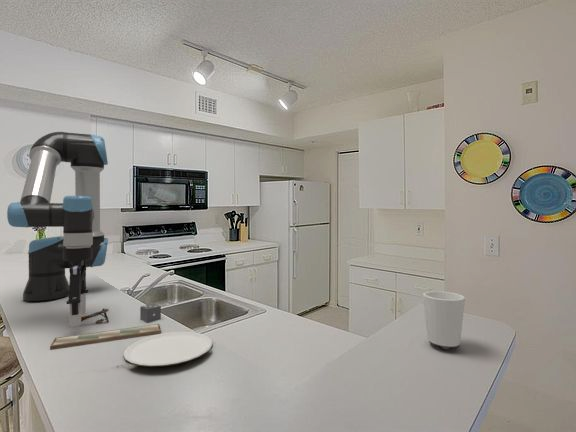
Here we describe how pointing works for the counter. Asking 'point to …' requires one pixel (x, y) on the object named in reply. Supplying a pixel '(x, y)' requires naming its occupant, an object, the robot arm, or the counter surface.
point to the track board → (105, 336)
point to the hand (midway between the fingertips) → (78, 319)
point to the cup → (444, 318)
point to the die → (150, 313)
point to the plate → (168, 349)
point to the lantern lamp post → (97, 315)
